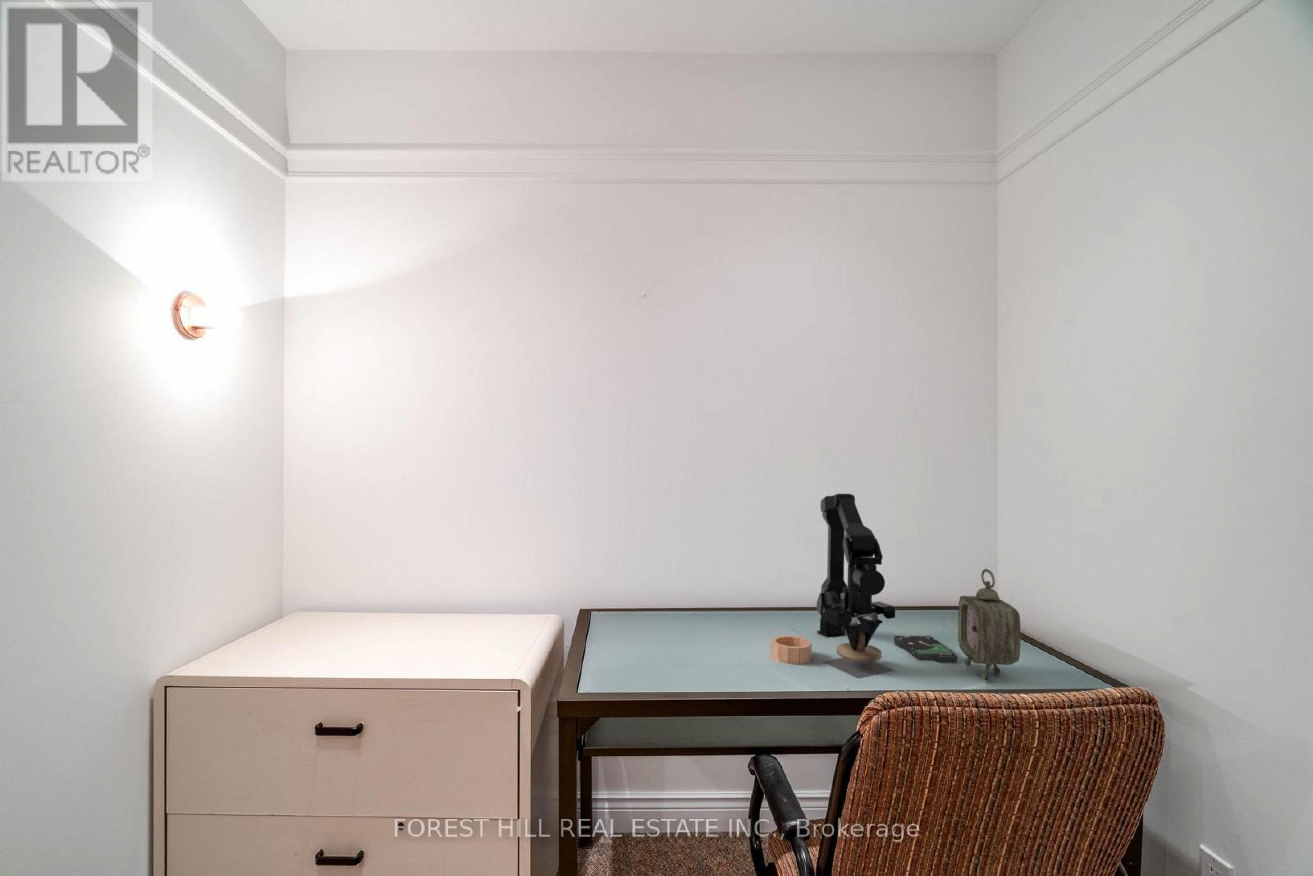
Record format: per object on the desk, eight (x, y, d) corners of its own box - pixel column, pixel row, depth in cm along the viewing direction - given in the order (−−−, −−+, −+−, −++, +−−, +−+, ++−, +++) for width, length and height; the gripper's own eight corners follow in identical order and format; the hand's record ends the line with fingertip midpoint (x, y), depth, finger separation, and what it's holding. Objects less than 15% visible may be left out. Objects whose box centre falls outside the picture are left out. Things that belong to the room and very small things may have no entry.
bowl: (793, 650, 168) (793, 633, 168) (819, 662, 160) (819, 644, 160) (763, 656, 164) (763, 638, 164) (787, 668, 155) (788, 650, 155)
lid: (858, 644, 163) (858, 625, 163) (890, 657, 154) (891, 636, 154) (827, 650, 158) (827, 630, 158) (858, 664, 149) (859, 642, 149)
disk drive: (893, 646, 175) (918, 664, 161) (893, 635, 175) (918, 653, 161) (930, 645, 176) (958, 664, 161) (930, 635, 176) (958, 653, 161)
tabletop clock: (957, 662, 161) (958, 563, 161) (995, 664, 160) (996, 564, 160) (980, 684, 147) (982, 575, 147) (1022, 686, 146) (1023, 577, 146)
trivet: (858, 657, 164) (858, 654, 164) (895, 672, 153) (895, 670, 153) (822, 664, 159) (822, 661, 159) (858, 680, 148) (858, 678, 148)
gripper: (863, 574, 167) (862, 634, 167) (807, 581, 159) (806, 644, 159) (897, 583, 157) (896, 647, 157) (839, 591, 149) (838, 658, 149)
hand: (858, 648), depth 156 cm, fingers closed on lid, 3 cm apart
